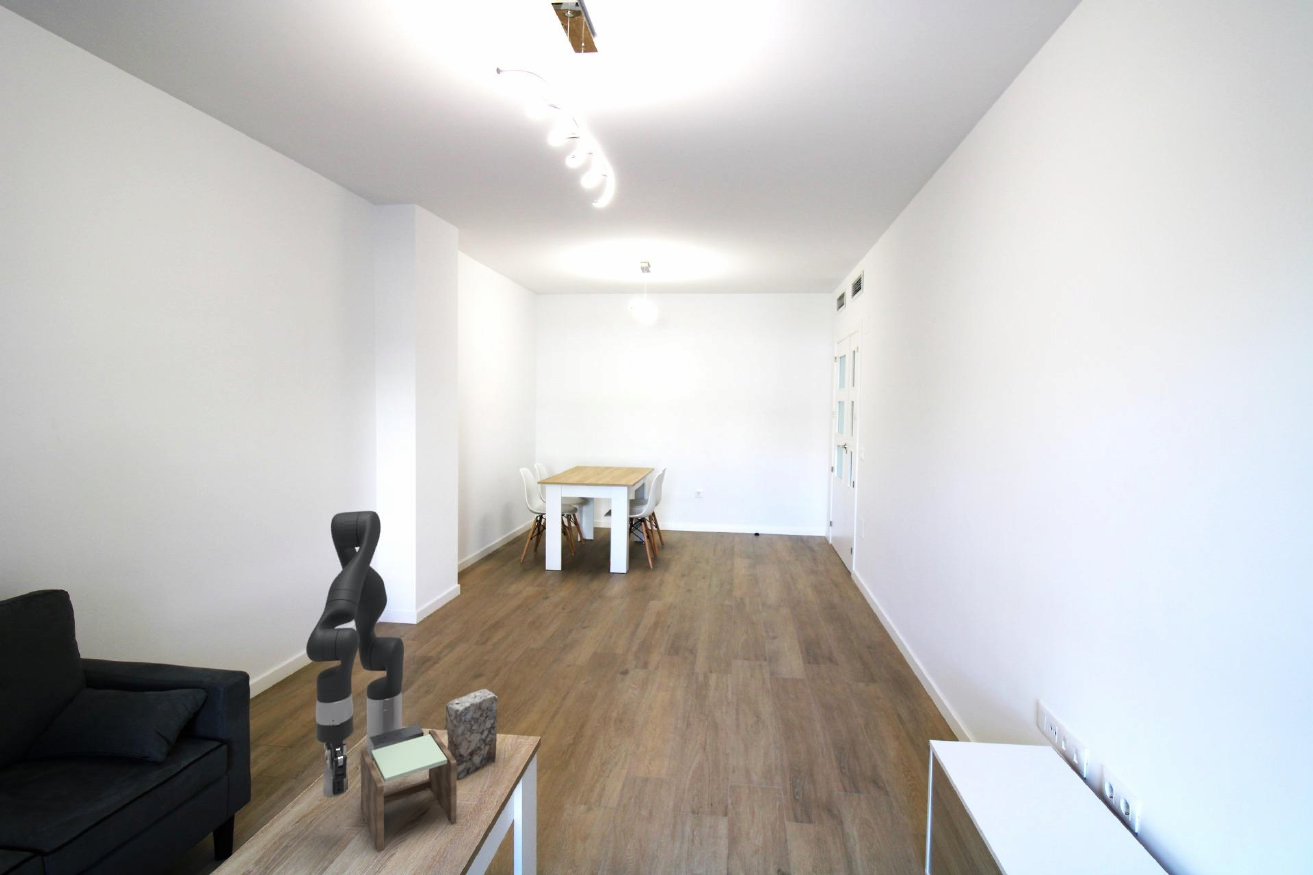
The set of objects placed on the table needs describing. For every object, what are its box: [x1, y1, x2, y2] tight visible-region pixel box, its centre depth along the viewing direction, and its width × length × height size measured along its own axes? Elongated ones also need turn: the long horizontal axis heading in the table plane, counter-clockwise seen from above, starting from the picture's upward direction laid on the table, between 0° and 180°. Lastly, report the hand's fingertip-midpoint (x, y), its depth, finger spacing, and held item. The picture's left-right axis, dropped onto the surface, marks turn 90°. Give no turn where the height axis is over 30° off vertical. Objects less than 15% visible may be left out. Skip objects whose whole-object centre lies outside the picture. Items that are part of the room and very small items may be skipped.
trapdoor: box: [370, 723, 447, 784], centre depth 154 cm, size 21×14×3 cm, turn 36°
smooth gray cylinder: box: [322, 762, 349, 798], centre depth 143 cm, size 5×5×6 cm
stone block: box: [445, 688, 499, 780], centre depth 173 cm, size 13×7×20 cm, turn 145°
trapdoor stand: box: [360, 729, 458, 853], centre depth 152 cm, size 18×18×15 cm
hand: (335, 786), depth 143 cm, fingers closed on smooth gray cylinder, 5 cm apart
